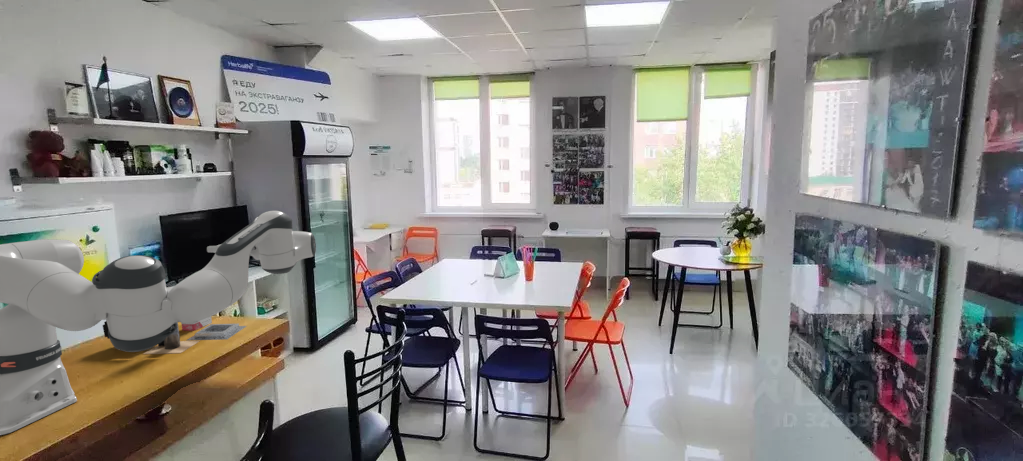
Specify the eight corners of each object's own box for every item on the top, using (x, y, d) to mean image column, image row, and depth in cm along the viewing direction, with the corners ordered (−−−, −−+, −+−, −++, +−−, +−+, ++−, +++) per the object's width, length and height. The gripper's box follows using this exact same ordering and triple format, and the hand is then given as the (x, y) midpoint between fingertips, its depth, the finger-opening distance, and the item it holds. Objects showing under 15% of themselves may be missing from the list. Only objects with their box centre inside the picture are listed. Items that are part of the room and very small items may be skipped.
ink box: (193, 332, 166) (190, 298, 164) (181, 331, 167) (177, 298, 165) (212, 324, 175) (209, 291, 173) (200, 323, 175) (197, 291, 174)
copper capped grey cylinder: (176, 350, 148) (171, 304, 146) (156, 351, 148) (150, 305, 146) (188, 343, 154) (183, 299, 152) (168, 343, 154) (163, 300, 152)
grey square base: (227, 340, 158) (226, 334, 157) (186, 341, 157) (185, 335, 157) (247, 327, 171) (246, 321, 170) (208, 328, 170) (208, 322, 170)
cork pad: (180, 354, 146) (180, 352, 146) (142, 355, 146) (142, 353, 146) (200, 342, 156) (200, 340, 156) (164, 343, 156) (164, 341, 156)
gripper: (247, 262, 142) (198, 263, 141) (277, 250, 162) (234, 250, 162) (245, 240, 141) (196, 241, 141) (275, 231, 161) (233, 232, 161)
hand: (217, 246), depth 151 cm, fingers open, 8 cm apart
